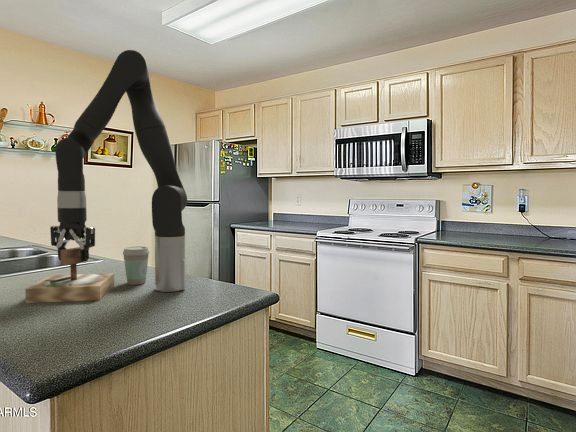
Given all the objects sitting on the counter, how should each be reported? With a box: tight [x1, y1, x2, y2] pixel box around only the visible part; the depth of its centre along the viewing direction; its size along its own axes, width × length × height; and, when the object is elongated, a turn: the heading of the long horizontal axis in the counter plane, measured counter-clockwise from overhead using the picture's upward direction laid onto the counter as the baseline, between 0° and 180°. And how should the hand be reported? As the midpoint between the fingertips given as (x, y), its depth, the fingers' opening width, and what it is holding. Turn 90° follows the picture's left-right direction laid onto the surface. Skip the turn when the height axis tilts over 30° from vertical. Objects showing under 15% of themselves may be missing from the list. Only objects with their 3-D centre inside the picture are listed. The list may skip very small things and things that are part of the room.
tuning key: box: [50, 246, 82, 284], centre depth 111 cm, size 11×2×9 cm, turn 161°
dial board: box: [25, 273, 115, 304], centre depth 114 cm, size 19×17×4 cm
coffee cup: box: [122, 246, 150, 286], centre depth 127 cm, size 8×8×12 cm
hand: (73, 260), depth 113 cm, fingers open, 7 cm apart
